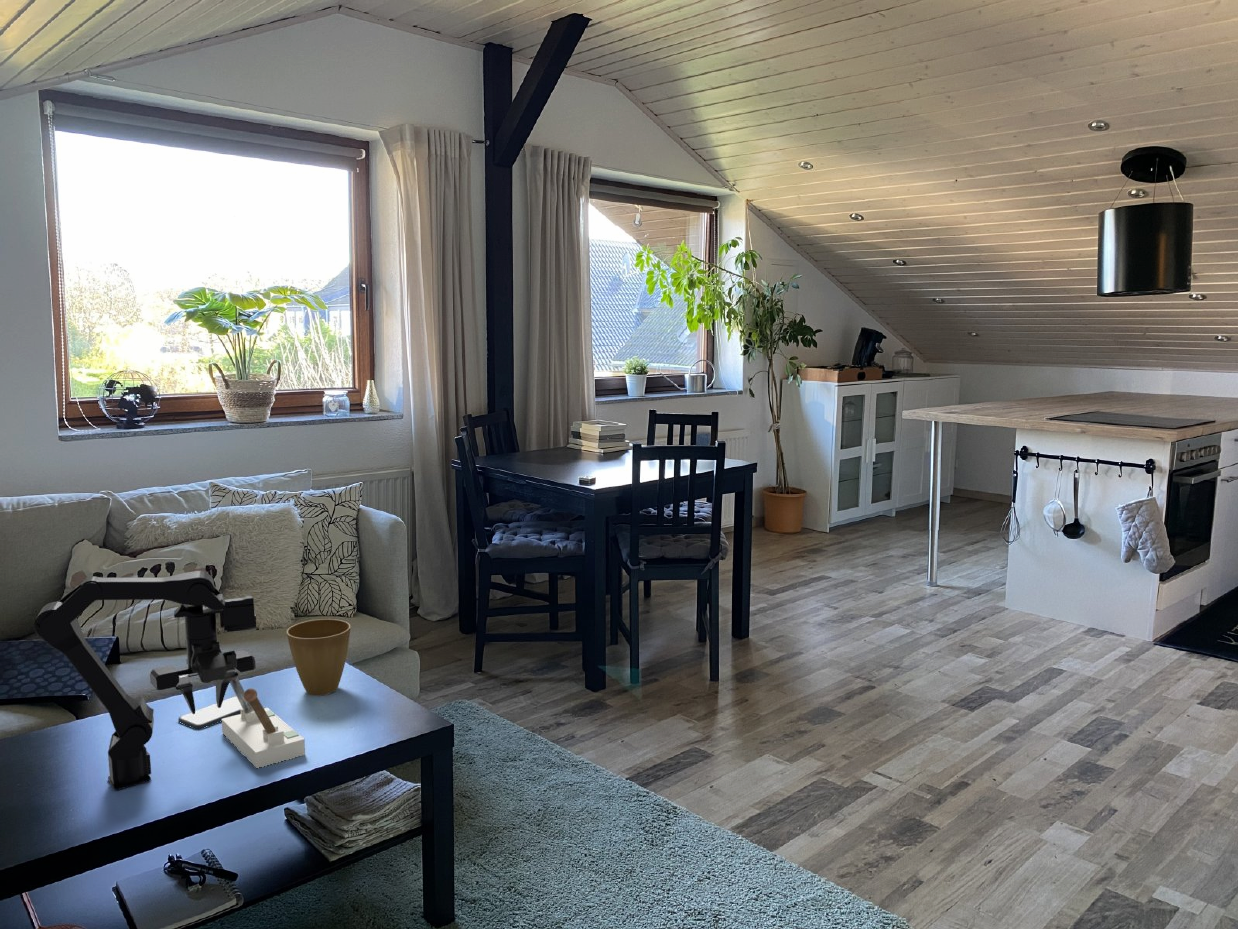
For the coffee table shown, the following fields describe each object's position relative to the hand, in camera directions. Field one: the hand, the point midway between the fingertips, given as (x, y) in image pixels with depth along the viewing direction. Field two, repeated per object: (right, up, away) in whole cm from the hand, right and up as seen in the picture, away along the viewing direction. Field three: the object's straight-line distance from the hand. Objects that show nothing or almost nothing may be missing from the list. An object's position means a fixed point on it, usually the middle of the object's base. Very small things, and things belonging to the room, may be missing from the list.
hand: (206, 710), depth 190 cm
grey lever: (+2, -5, +17) cm, 18 cm away
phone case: (-9, -9, +29) cm, 31 cm away
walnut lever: (+11, -7, +6) cm, 14 cm away
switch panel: (+7, -10, +12) cm, 17 cm away
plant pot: (+10, -7, +43) cm, 44 cm away
